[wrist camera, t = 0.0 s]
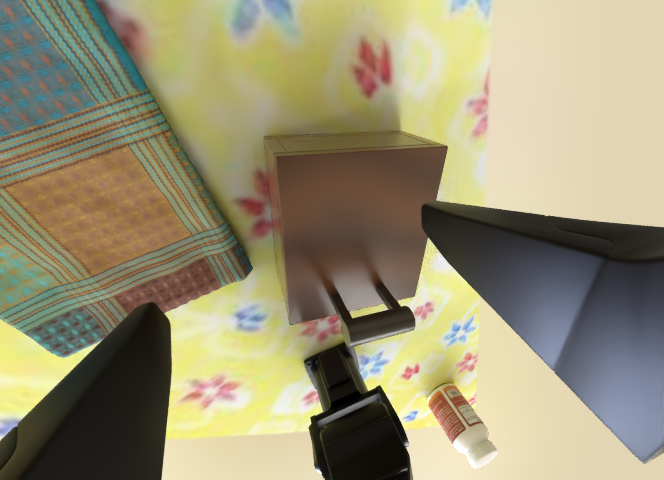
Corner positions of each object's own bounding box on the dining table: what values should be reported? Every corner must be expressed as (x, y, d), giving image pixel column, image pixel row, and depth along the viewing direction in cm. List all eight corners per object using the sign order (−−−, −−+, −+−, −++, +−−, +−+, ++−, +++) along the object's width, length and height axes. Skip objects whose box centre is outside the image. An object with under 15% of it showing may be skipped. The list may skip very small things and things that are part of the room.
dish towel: (29, -122, 12) (-10, -162, 10) (256, 263, 26) (259, 279, 24) (-436, -2, 10) (-600, -20, 8) (68, 345, 24) (53, 371, 22)
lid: (410, 291, 26) (447, 335, 22) (287, 318, 23) (302, 376, 19) (441, 143, 19) (504, 164, 15) (273, 153, 16) (291, 182, 12)
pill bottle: (428, 407, 53) (470, 475, 44) (423, 394, 50) (467, 465, 41) (456, 391, 54) (502, 455, 45) (452, 377, 50) (502, 443, 41)
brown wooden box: (384, 254, 30) (411, 284, 26) (277, 273, 27) (287, 311, 23) (401, 130, 24) (440, 143, 19) (263, 136, 21) (273, 153, 16)
